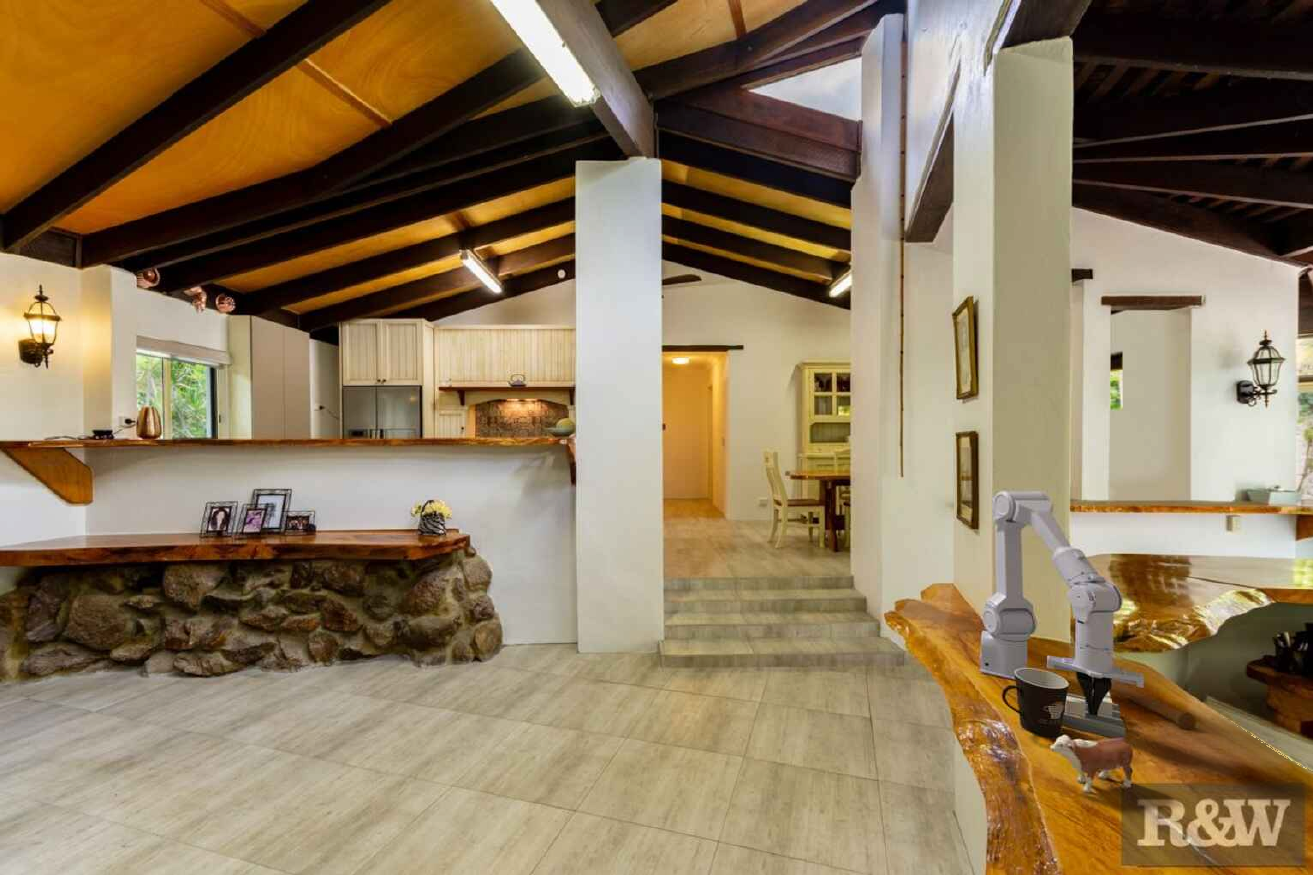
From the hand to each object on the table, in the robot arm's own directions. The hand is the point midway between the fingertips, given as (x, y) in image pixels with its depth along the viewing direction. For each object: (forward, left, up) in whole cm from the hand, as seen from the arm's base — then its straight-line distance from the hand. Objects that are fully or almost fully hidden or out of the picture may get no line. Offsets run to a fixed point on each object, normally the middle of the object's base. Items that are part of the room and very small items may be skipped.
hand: (1092, 713), depth 106 cm
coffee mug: (-10, -6, -3) cm, 12 cm away
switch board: (0, +3, -3) cm, 5 cm away
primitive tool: (+10, +18, -4) cm, 21 cm away
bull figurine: (-1, -21, -3) cm, 21 cm away
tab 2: (+2, +7, -2) cm, 7 cm away
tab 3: (+2, +4, -2) cm, 4 cm away
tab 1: (-3, 0, -2) cm, 3 cm away
